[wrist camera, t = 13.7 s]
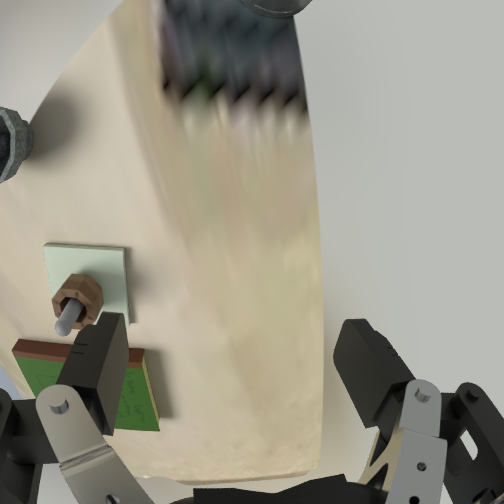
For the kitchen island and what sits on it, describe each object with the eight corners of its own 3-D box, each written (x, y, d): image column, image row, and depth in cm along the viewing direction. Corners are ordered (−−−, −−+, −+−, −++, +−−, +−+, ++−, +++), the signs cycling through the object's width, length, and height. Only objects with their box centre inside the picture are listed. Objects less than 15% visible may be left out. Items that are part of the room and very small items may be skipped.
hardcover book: (144, 346, 45) (141, 362, 42) (160, 416, 52) (159, 431, 49) (16, 336, 41) (8, 349, 38) (50, 405, 49) (45, 417, 45)
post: (45, 243, 36) (6, 281, 26) (124, 248, 38) (100, 291, 28) (59, 316, 40) (32, 363, 30) (130, 323, 42) (115, 376, 32)
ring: (60, 272, 35) (48, 287, 32) (100, 275, 36) (91, 291, 33) (67, 310, 38) (58, 326, 34) (105, 314, 39) (98, 331, 35)
